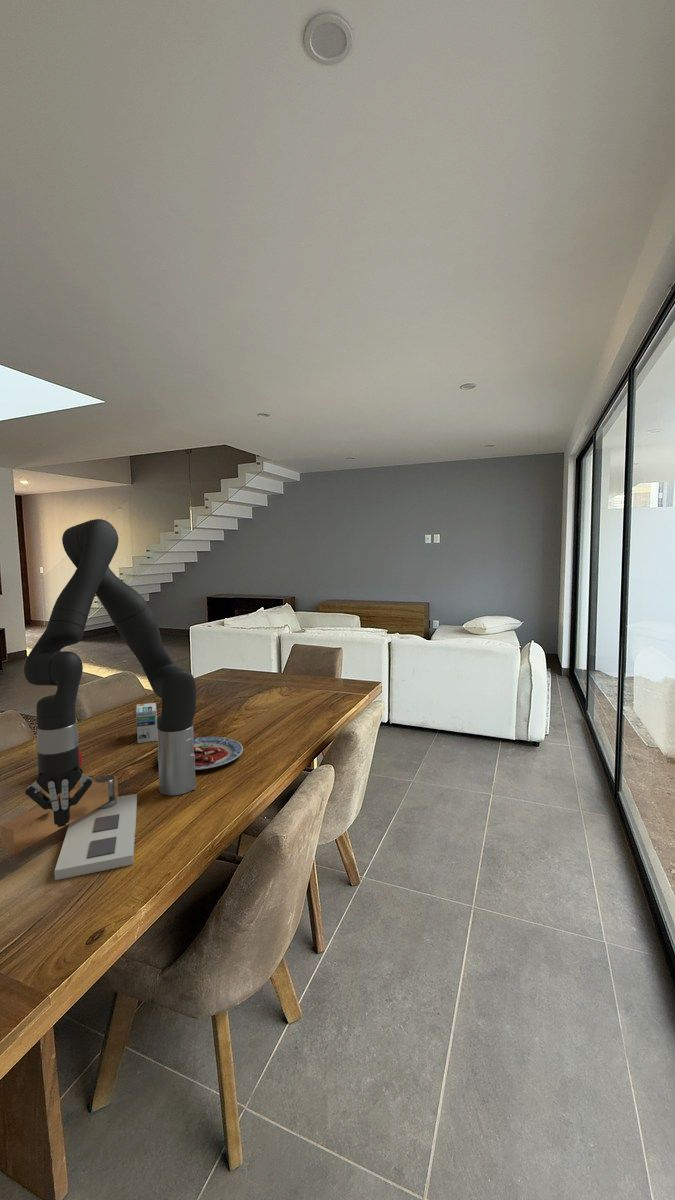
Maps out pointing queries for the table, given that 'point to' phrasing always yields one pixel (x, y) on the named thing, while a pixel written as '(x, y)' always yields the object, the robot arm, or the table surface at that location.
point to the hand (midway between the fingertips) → (62, 824)
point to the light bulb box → (146, 722)
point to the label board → (99, 839)
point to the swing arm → (42, 821)
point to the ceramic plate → (215, 751)
